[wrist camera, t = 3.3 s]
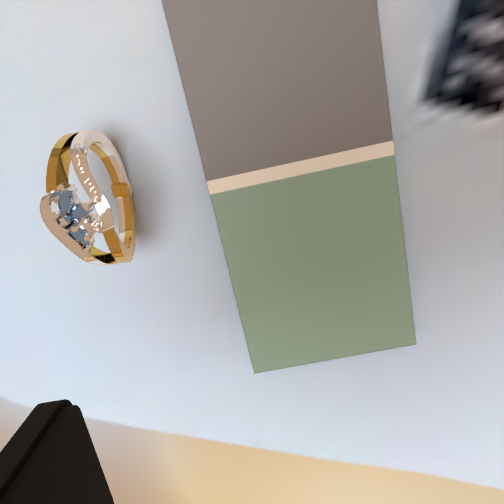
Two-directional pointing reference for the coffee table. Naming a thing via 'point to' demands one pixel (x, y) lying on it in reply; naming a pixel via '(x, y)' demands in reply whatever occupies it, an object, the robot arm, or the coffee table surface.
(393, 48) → the coffee table surface
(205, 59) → the board
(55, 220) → the ring
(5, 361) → the coffee table surface
